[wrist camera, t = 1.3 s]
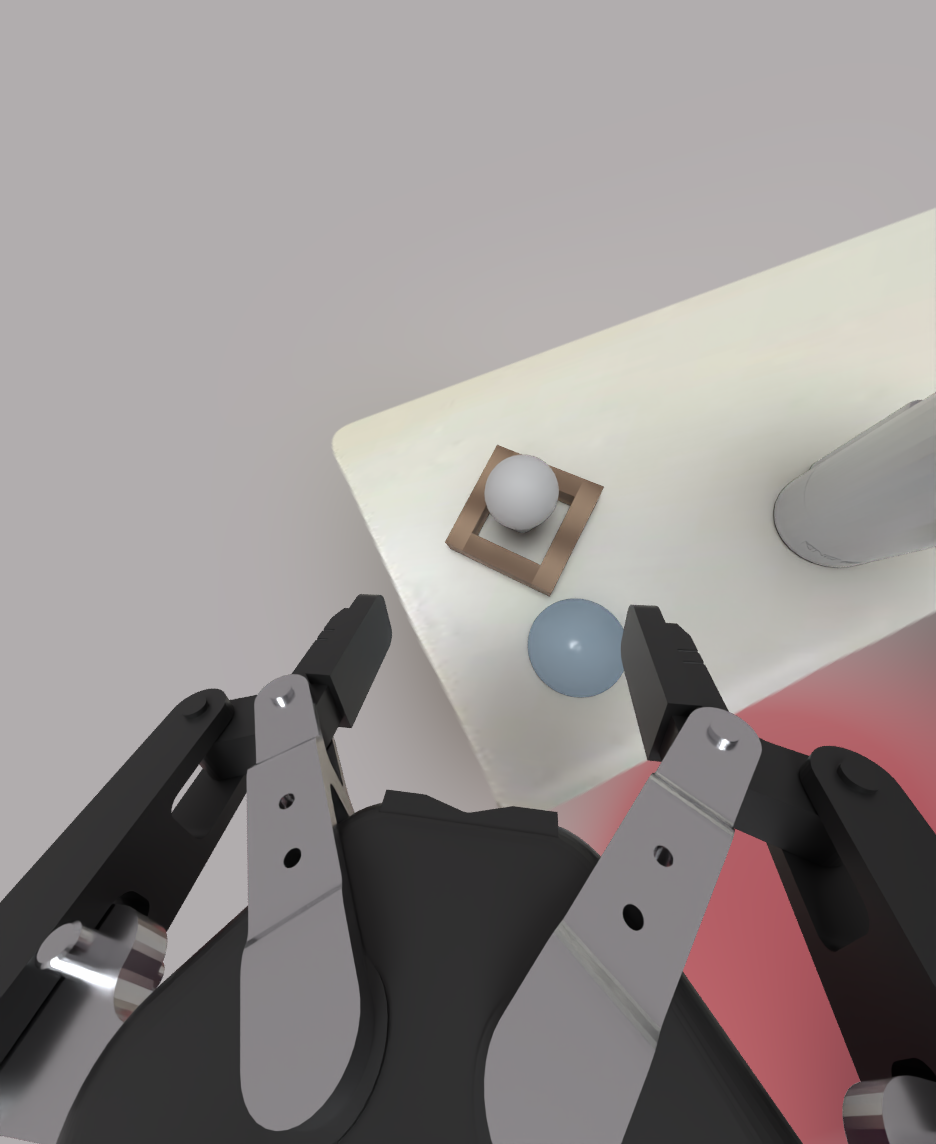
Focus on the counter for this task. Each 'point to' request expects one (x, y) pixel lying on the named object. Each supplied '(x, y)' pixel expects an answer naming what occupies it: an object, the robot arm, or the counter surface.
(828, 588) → the counter surface
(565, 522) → the frame
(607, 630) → the pad
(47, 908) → the robot arm
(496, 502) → the lightbulb
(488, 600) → the counter surface
